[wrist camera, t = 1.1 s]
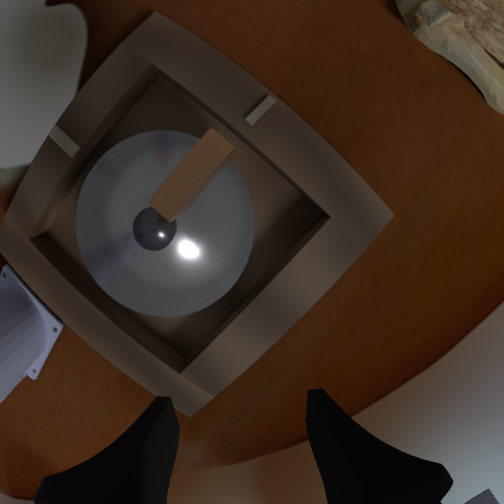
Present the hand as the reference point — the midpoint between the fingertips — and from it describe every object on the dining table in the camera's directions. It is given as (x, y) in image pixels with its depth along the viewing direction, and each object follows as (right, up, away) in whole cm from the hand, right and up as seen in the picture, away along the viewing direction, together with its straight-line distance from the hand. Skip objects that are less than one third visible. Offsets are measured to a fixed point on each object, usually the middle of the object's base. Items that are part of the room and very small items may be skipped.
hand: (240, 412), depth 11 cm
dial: (-5, +9, +7) cm, 12 cm away
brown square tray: (-5, +9, +8) cm, 13 cm away
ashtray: (+24, +31, +5) cm, 40 cm away
